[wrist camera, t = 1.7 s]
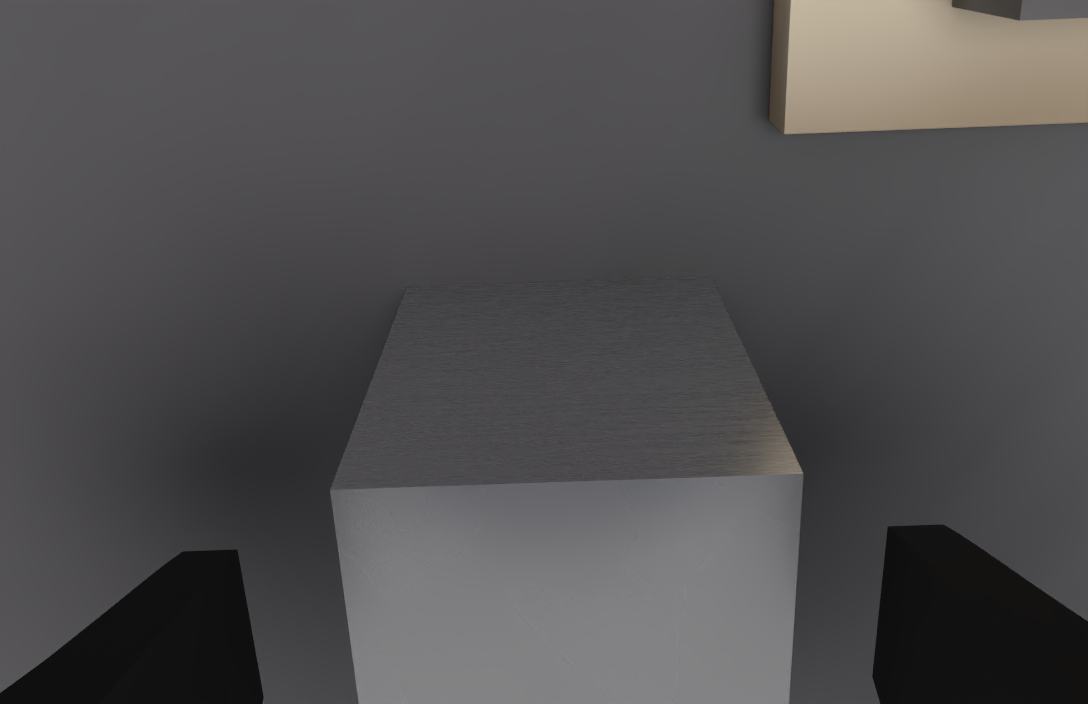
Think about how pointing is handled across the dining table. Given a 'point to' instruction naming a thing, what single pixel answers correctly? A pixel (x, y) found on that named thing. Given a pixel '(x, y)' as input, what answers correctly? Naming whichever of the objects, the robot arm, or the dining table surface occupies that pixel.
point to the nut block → (568, 502)
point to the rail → (927, 64)
